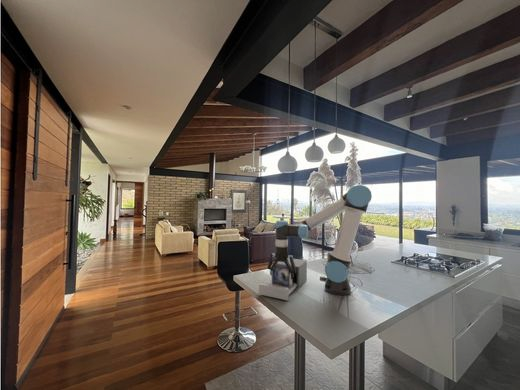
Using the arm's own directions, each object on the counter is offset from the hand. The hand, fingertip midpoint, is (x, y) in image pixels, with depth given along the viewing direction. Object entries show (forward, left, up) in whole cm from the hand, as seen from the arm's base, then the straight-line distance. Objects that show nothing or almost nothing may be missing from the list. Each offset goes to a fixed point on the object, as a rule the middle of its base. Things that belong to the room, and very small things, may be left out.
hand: (281, 282), depth 133 cm
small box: (0, 0, -1) cm, 1 cm away
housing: (0, -16, -5) cm, 17 cm away
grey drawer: (0, +3, -4) cm, 5 cm away
